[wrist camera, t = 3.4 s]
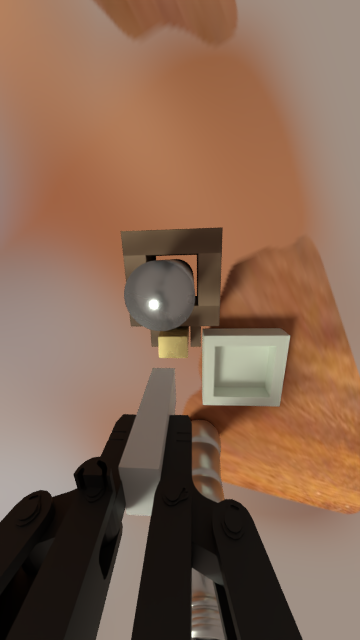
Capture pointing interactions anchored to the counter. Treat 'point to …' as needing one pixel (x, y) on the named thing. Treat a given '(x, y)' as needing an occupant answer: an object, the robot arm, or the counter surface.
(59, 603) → the robot arm
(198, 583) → the plastic bottle
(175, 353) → the brass block
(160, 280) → the grey metal peg
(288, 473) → the counter surface
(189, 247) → the socket block
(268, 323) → the counter surface
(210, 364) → the tray
